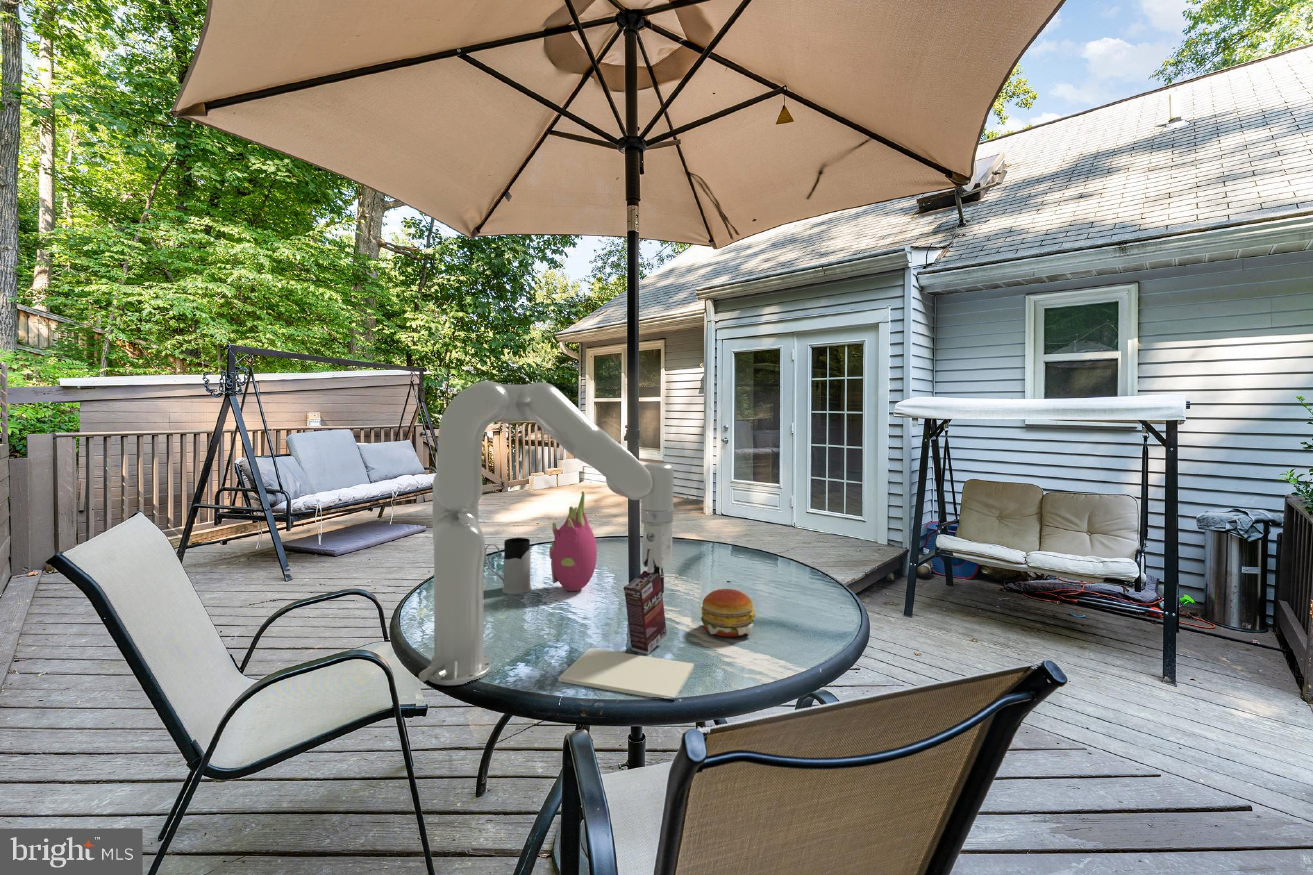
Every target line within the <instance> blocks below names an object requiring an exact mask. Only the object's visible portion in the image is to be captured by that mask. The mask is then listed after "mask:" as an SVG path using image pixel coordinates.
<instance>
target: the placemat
mask: <svg viewBox="0 0 1313 875" xmlns="http://www.w3.org/2000/svg"><path fill="white" fill-rule="evenodd" d="M694 668H695V663H693V662H685V661H680V660H679V661H678V660H672V659H665V658H658V657H652V656H647V655H638V654H632V653H627V652H626V653H625V652H619V651H613V650H606V649H605V650H604V649H598V648H592V647H590V648H588V649H587V650H586V651H585V652H584V653H583V654H582V655H581V656H579V657H578V659H576V660H575V661H574V662H573V663H572V664H571V665H570V666H569V667H568V668H566V670H564V672H562V673H561V674H560V675H559V676H558V677H557V678H558V679H557V680H558V682H561V683H566V684H573V685H578V686H584V687H589V688H596V689H600V690H601V689H602V690H606V691H613V692H619V693H624V694H631V695H636V696H641V697H648V698H652V697H670V698H675V697H676V696H677V695H678V696H679V694H680V693H681V691H682V689H683V688H684V685H685V684H686V682H687V681H688V679H689V677H690V675H691V673H692V672H693V670H694ZM680 690H681V691H680ZM679 692H680V693H679ZM678 696H677V697H678Z"/></svg>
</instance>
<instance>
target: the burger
mask: <svg viewBox="0 0 1313 875" xmlns="http://www.w3.org/2000/svg"><path fill="white" fill-rule="evenodd" d="M753 603H754V602H753V601H752V600H751V598H750V596H748V595H747V594H746V593H744V592H741V591H740V590H738V589H737V590H736V589H733V588H720V589H716V590H713V591H711V592H709V593H707V595H706V596H705V597H704V598H703V600H702V606H701V617H700V619H701V622H702V624H703V627H704V629H705V630H706V631H707V632H709V633H710V635H716V636H721V637H731V638H732V637H733V638H734V637H740V636H744V635H748V636H751V635H752V631H753V629H754V628H753V627H754V622H755V621H754V620H755V617H756V612H755V609H754V604H753Z"/></svg>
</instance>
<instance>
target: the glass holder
mask: <svg viewBox="0 0 1313 875" xmlns="http://www.w3.org/2000/svg"><path fill="white" fill-rule="evenodd" d="M503 545H504V546H503V548H504V550H503V551H504V552H503V556H504V557H503V556H501V554H500V549H499V546H498V545H496V544H495V543H491V544H488V545H486V546H485V560H484V561H485V563H486V565H487V567H488V569H490V571H491V572H492V573H493V574H494V575H496V576H497V577H498V578H499V579H500V580H501V581H502V584H503V587H502V588H501V590H502V593H503V594H507V595H520V594H526V593H529V592H530V591H532V588H533V587H532V586H531V539H529V538H527V537H512V538H508V539H505V540H504V543H503ZM490 546H494V547H495V548H496V549H497V554H498V555H497V556H498V558H499V559H502V560H503V577H502V576H501V575H500V574H499V573H498V572H497V571H495V570H494V569H493V567H491V565H490V563H489V561H488V558H487V549H488V547H490Z"/></svg>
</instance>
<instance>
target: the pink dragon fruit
mask: <svg viewBox="0 0 1313 875" xmlns="http://www.w3.org/2000/svg"><path fill="white" fill-rule="evenodd" d="M585 496H586V495H585V492H584V491H583V490H582V491H581V497H580V500H579V503H578V506H577V507H576V506H575V507H573V506H572V505H571V506H569V508H568V515H567V517H566V519H565V521H564V523H563V524H562V525H561V526H560V527H559V528H557V524H556V522H554V521H553V522H552V526H551V529H552V533H553V537H554V541H551V546H549V558H550V566H551V568H550V569H551V578H552V584H556V583H559V584H560V585H561V586H562V588H564V589H565V590H567V591H570V592H577V591H580V590H582V589H583V588H585V587H586V586H587V585H588V584H589V582H590V580H592V577H593V575H594V573H595V570H596V566H597V560H598V559H597V558H598V557H597V556H598V550H597V549H598V548H597V541H596V537H595V533H594V532H593V530H592V528H591V526H590V524H589V519H588V518H587V514H586V509H585V498H586V497H585Z"/></svg>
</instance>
